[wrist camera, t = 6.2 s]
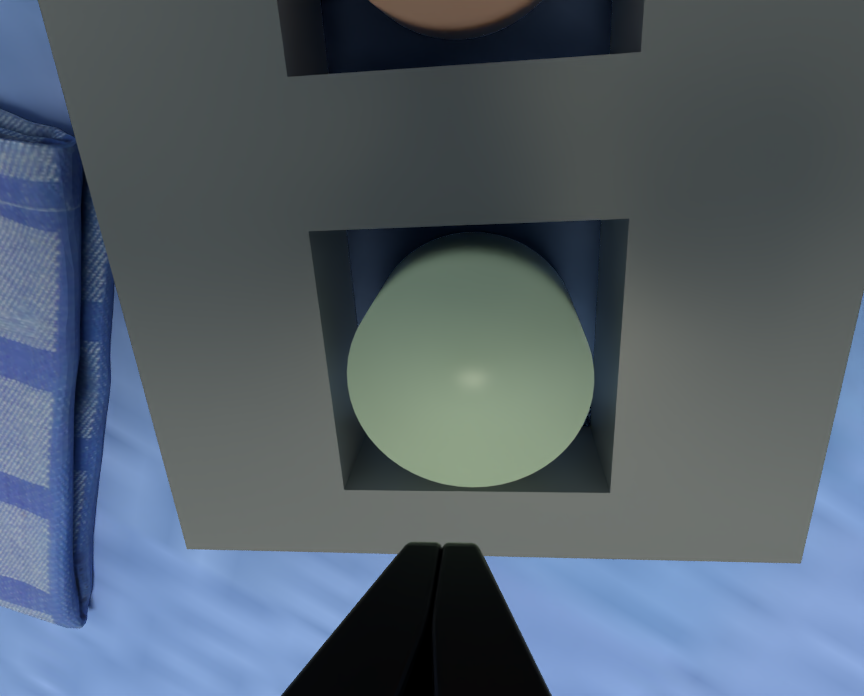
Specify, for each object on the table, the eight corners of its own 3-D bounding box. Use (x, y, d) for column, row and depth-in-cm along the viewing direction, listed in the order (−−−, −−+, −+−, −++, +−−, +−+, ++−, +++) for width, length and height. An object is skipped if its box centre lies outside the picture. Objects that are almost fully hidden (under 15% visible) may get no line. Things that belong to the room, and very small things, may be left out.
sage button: (579, 227, 13) (600, 260, 11) (571, 419, 15) (588, 488, 13) (364, 235, 14) (332, 268, 11) (383, 419, 16) (360, 486, 13)
